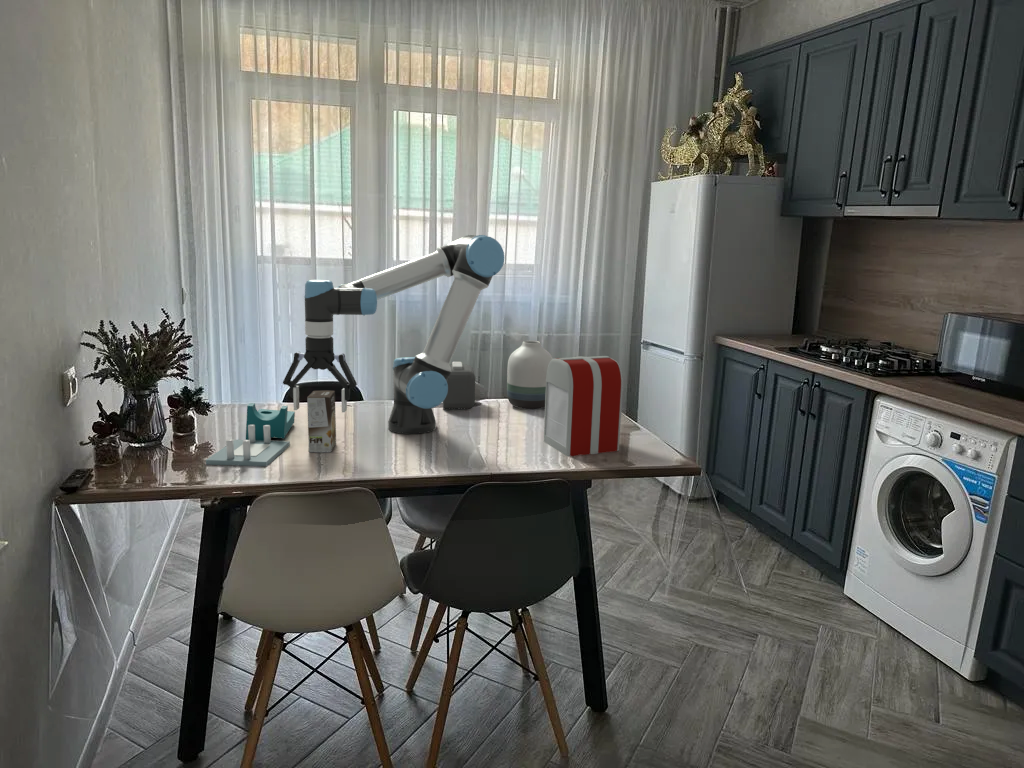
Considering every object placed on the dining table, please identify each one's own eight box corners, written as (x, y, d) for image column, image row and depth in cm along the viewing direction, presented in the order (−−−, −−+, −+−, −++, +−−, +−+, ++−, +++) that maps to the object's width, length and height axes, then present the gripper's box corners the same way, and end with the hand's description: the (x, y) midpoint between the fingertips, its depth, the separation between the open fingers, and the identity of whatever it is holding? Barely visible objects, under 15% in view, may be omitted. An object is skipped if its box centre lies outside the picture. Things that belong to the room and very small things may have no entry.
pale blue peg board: (290, 445, 203) (289, 424, 201) (266, 466, 184) (265, 443, 183) (235, 443, 203) (233, 422, 202) (206, 464, 184) (204, 441, 183)
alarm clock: (442, 400, 263) (442, 359, 260) (472, 400, 264) (473, 360, 261) (443, 411, 247) (443, 368, 244) (475, 411, 248) (475, 368, 245)
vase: (553, 412, 249) (556, 346, 244) (505, 411, 249) (507, 344, 244) (551, 401, 266) (553, 339, 261) (507, 400, 266) (508, 338, 261)
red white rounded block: (542, 440, 214) (545, 354, 209) (592, 436, 221) (597, 351, 215) (567, 456, 199) (571, 363, 194) (620, 450, 206) (626, 360, 201)
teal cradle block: (283, 442, 207) (285, 408, 205) (245, 440, 206) (247, 405, 204) (293, 426, 225) (295, 395, 223) (259, 424, 223) (260, 392, 221)
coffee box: (331, 452, 197) (329, 397, 194) (308, 452, 196) (306, 397, 193) (336, 443, 206) (335, 390, 203) (314, 443, 205) (312, 390, 202)
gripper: (367, 336, 198) (367, 409, 202) (279, 332, 198) (281, 405, 202) (361, 339, 191) (361, 415, 195) (270, 335, 191) (272, 411, 195)
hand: (320, 410), depth 199 cm, fingers open, 13 cm apart
